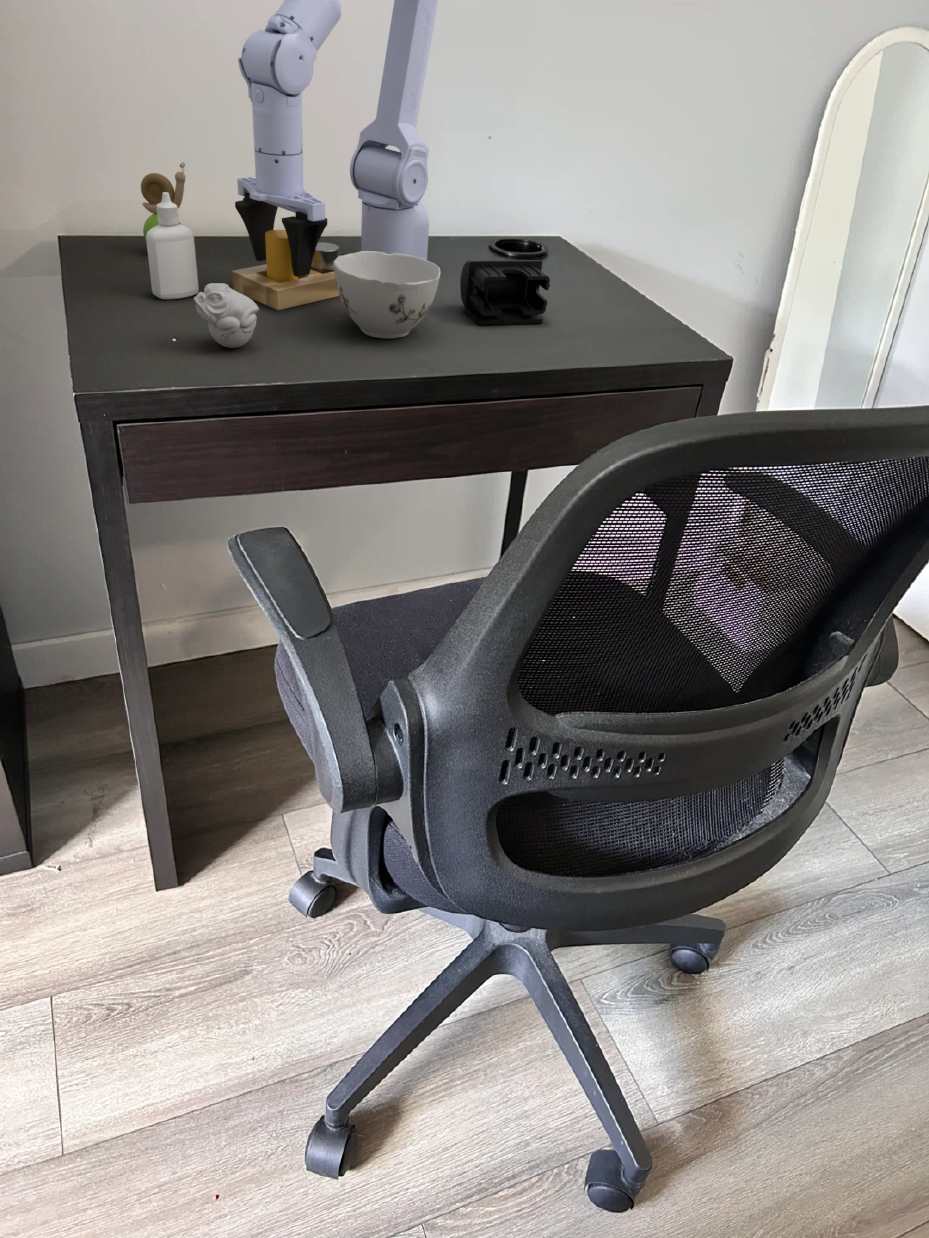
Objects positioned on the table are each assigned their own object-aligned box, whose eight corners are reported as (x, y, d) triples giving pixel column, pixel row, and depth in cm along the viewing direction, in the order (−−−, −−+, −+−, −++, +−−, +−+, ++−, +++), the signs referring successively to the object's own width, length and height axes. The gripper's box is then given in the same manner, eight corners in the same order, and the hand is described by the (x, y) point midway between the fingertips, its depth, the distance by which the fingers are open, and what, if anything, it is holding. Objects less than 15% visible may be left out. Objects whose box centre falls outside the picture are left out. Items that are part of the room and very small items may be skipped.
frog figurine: (194, 338, 105) (188, 276, 101) (255, 335, 107) (252, 274, 103) (202, 358, 101) (197, 294, 96) (266, 354, 103) (263, 292, 99)
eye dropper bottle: (198, 300, 115) (189, 198, 108) (152, 300, 114) (139, 196, 107) (199, 289, 118) (190, 189, 111) (153, 288, 117) (141, 187, 110)
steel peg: (325, 278, 126) (325, 240, 123) (345, 286, 124) (345, 248, 121) (303, 283, 124) (302, 245, 121) (322, 291, 122) (322, 252, 119)
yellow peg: (285, 287, 122) (283, 228, 118) (305, 295, 120) (304, 235, 116) (261, 292, 120) (258, 232, 115) (280, 301, 118) (278, 240, 113)
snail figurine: (187, 261, 127) (178, 167, 120) (140, 257, 127) (129, 162, 120) (197, 250, 132) (189, 159, 124) (152, 246, 131) (141, 154, 124)
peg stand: (232, 290, 119) (231, 271, 118) (327, 270, 129) (327, 252, 128) (277, 310, 115) (277, 290, 113) (372, 288, 125) (372, 269, 123)
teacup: (453, 345, 110) (459, 277, 106) (356, 354, 105) (357, 284, 100) (403, 304, 121) (405, 240, 116) (312, 311, 116) (311, 245, 111)
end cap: (527, 305, 125) (533, 254, 120) (547, 324, 119) (554, 270, 115) (457, 307, 122) (461, 254, 117) (475, 326, 116) (480, 271, 112)
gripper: (214, 141, 111) (222, 257, 119) (291, 166, 103) (294, 288, 112) (261, 137, 115) (266, 249, 123) (338, 161, 108) (338, 278, 116)
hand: (282, 267), depth 118 cm, fingers open, 7 cm apart
